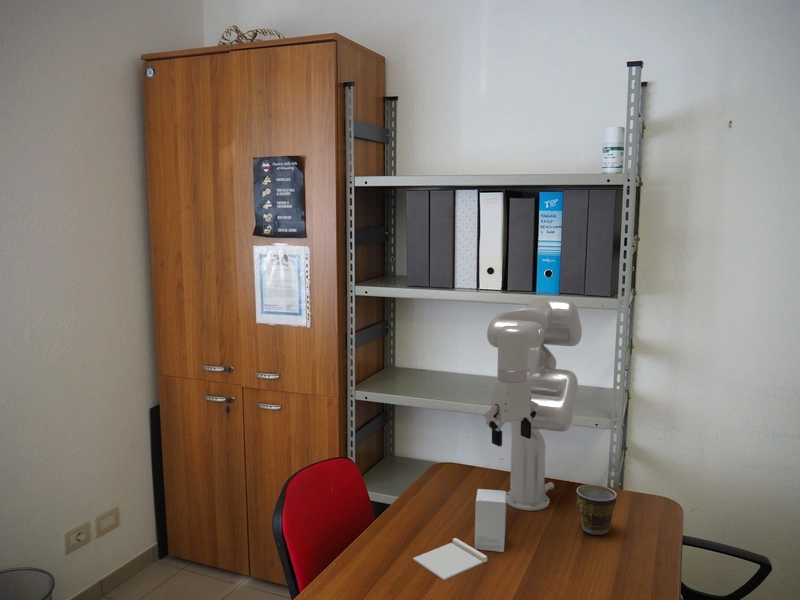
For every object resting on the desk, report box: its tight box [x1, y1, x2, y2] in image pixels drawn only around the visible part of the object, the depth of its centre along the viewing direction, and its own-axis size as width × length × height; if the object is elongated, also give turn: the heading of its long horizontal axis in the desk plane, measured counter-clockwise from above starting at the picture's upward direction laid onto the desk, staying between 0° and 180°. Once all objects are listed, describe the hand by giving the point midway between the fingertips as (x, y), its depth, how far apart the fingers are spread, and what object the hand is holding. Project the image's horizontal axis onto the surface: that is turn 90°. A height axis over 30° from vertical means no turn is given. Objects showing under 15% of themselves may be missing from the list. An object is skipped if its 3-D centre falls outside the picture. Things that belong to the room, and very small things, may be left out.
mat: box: [412, 542, 484, 581], centre depth 147 cm, size 12×11×1 cm
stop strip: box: [452, 537, 488, 563], centre depth 151 cm, size 1×11×1 cm, turn 37°
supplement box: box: [474, 488, 507, 553], centre depth 155 cm, size 7×7×13 cm
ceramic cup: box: [575, 484, 618, 536], centre depth 162 cm, size 13×10×10 cm
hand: (511, 440), depth 158 cm, fingers open, 9 cm apart
